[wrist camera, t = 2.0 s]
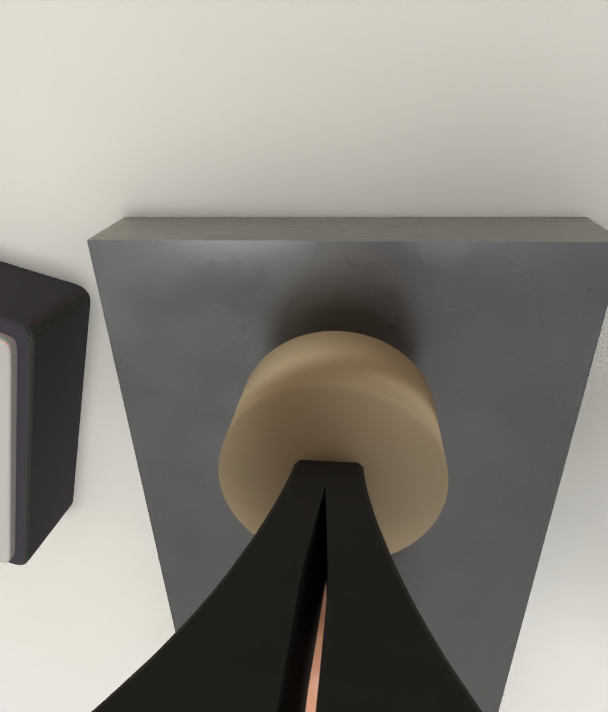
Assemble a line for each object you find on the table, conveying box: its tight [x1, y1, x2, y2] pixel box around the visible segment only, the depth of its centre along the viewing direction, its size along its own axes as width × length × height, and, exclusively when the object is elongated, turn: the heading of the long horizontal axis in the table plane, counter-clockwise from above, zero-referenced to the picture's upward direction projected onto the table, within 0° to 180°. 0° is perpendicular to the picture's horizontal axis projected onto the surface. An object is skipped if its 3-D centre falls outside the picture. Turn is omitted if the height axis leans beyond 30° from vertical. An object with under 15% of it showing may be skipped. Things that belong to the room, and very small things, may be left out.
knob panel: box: [87, 218, 608, 712], centre depth 21 cm, size 14×26×2 cm, turn 2°
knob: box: [218, 331, 449, 554], centre depth 13 cm, size 5×5×2 cm
